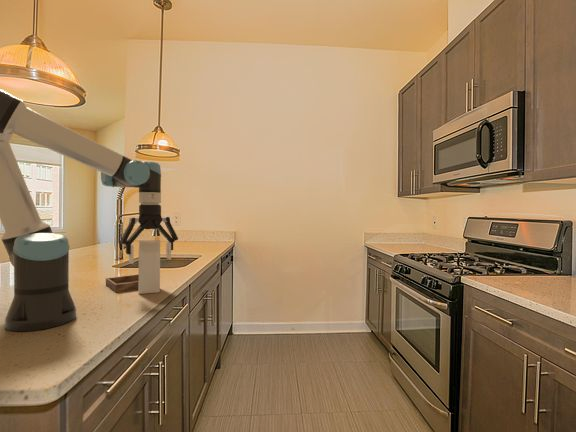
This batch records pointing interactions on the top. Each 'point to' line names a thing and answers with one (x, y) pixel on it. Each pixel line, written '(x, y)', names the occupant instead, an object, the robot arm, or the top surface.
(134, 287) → the tray
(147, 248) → the milk carton
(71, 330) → the top surface
